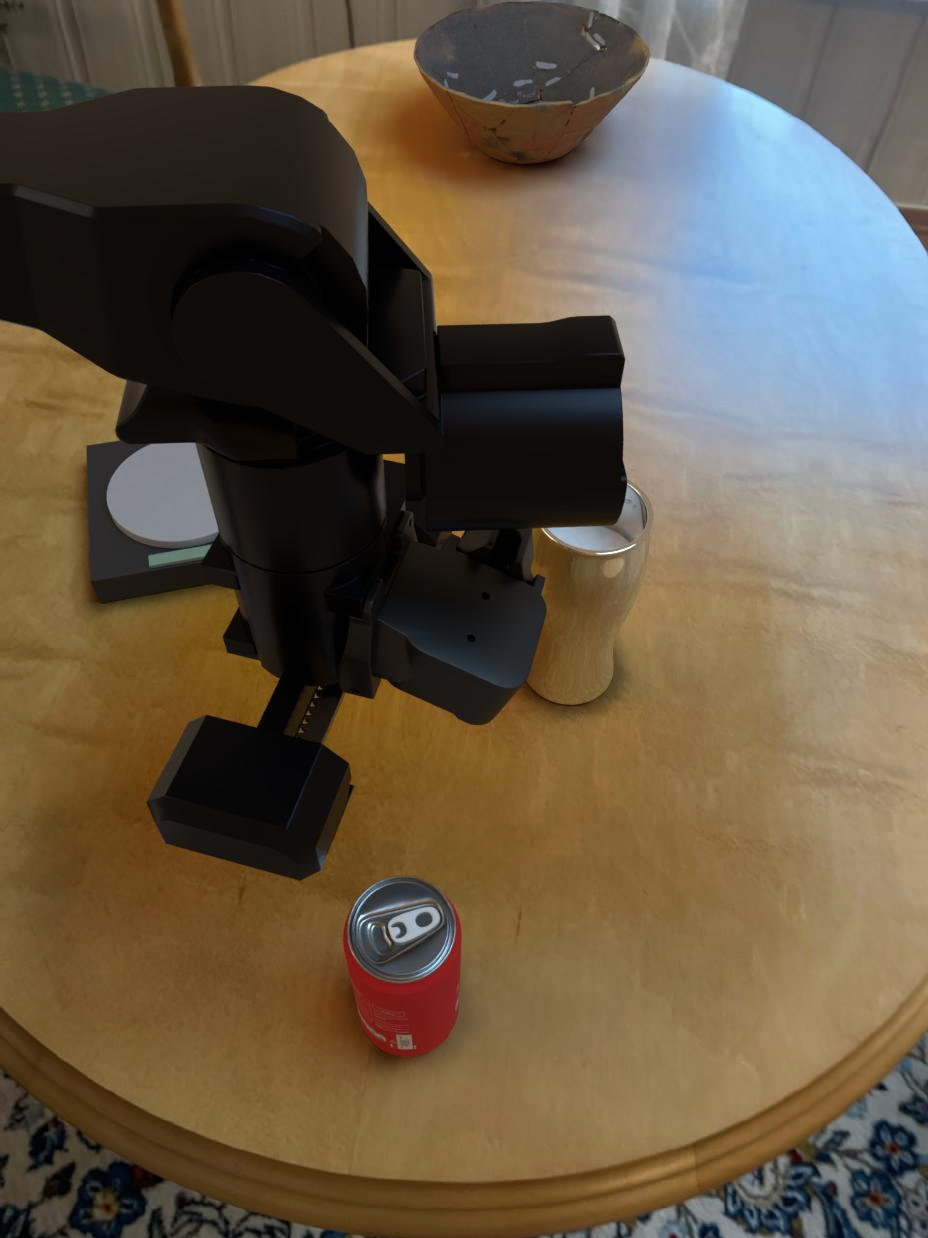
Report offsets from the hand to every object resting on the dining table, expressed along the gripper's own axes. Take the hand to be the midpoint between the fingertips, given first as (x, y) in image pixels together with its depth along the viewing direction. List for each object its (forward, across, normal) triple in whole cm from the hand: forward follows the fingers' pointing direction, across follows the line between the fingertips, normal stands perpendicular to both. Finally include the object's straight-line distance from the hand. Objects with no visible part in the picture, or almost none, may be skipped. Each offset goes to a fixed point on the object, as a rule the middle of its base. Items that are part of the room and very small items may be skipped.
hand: (341, 746), depth 45 cm
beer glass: (+14, +17, -9) cm, 24 cm away
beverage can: (+14, -7, -5) cm, 16 cm away
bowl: (+14, +87, +11) cm, 89 cm away
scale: (+14, +23, +21) cm, 34 cm away
